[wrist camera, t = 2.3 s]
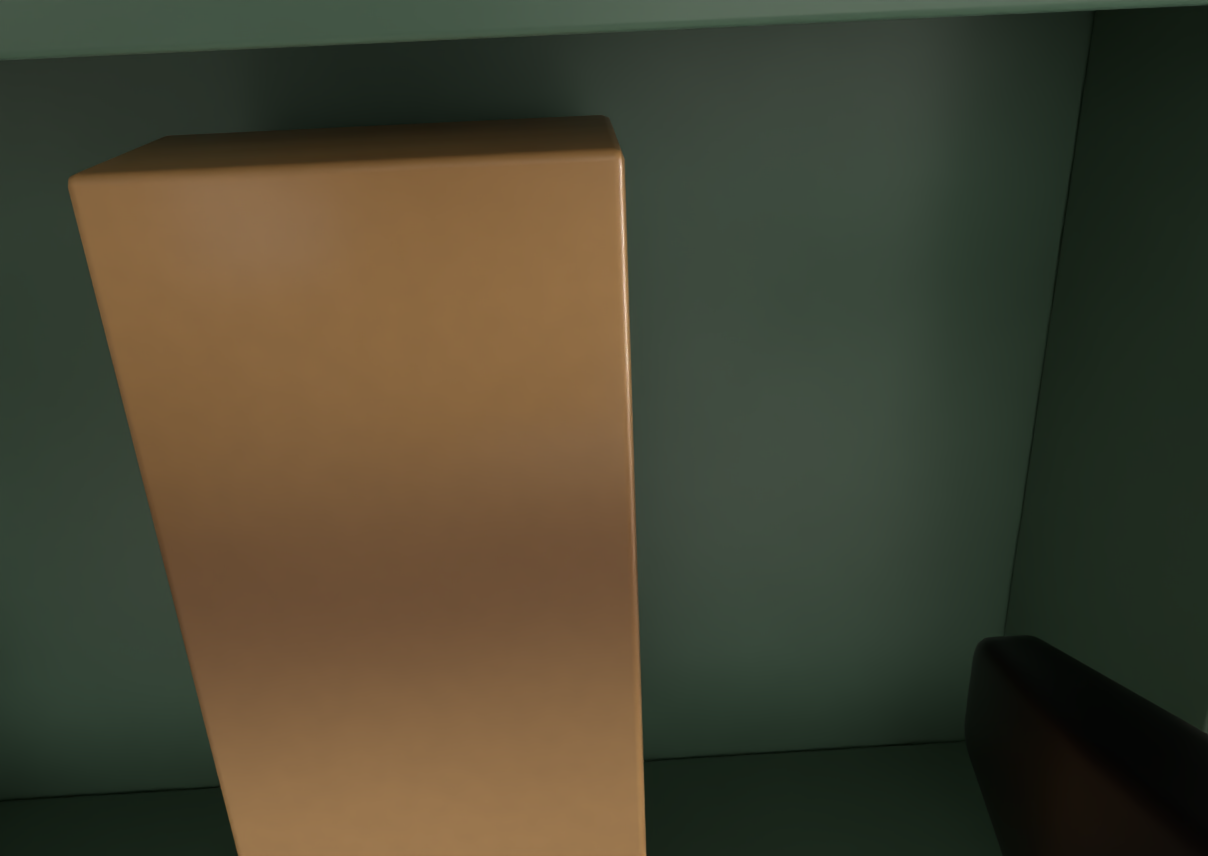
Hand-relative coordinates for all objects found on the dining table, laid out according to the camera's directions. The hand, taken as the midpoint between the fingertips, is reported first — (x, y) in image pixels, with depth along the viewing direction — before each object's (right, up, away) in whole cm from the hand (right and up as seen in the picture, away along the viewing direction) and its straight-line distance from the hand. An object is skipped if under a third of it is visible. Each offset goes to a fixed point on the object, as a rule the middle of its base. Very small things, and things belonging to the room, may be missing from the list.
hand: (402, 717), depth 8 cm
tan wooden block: (0, +2, +4) cm, 5 cm away
